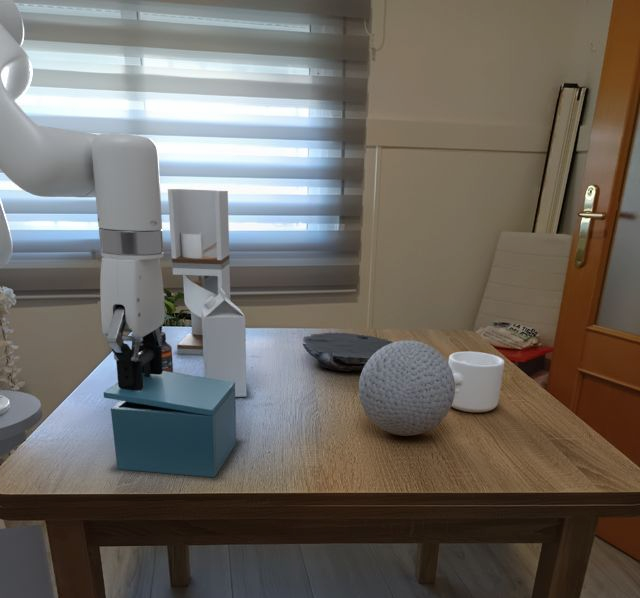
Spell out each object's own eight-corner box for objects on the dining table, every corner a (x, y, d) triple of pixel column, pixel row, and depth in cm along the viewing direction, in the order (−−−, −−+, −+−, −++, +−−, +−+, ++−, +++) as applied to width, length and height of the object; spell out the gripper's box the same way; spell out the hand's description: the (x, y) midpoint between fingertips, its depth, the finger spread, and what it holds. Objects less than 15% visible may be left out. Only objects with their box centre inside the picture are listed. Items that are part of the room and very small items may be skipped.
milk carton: (241, 385, 112) (239, 286, 105) (246, 397, 106) (245, 293, 99) (204, 387, 111) (200, 287, 103) (207, 399, 104) (203, 294, 97)
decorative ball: (360, 411, 101) (366, 327, 95) (446, 419, 99) (457, 334, 93) (351, 446, 88) (357, 350, 82) (451, 456, 85) (464, 358, 80)
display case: (188, 341, 142) (180, 189, 129) (231, 343, 142) (227, 190, 129) (177, 353, 132) (167, 189, 118) (223, 355, 132) (219, 191, 119)
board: (354, 347, 143) (356, 327, 141) (419, 369, 127) (422, 346, 125) (281, 359, 130) (281, 337, 128) (343, 386, 114) (344, 361, 112)
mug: (425, 395, 111) (430, 349, 107) (472, 391, 114) (478, 347, 110) (457, 417, 100) (464, 367, 97) (507, 413, 103) (516, 364, 100)
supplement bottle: (155, 400, 103) (150, 338, 99) (134, 393, 106) (128, 332, 102) (181, 392, 107) (177, 333, 103) (160, 385, 111) (156, 327, 106)
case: (117, 469, 78) (110, 408, 74) (150, 435, 88) (145, 381, 85) (214, 477, 77) (212, 416, 73) (236, 442, 87) (235, 387, 84)
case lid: (103, 397, 74) (102, 362, 72) (139, 371, 85) (140, 340, 83) (212, 416, 73) (214, 380, 71) (234, 387, 84) (237, 356, 82)
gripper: (132, 237, 80) (140, 361, 87) (67, 249, 64) (84, 399, 71) (184, 240, 79) (188, 365, 86) (131, 253, 64) (142, 405, 71)
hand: (141, 379), depth 79 cm, fingers closed on case lid, 6 cm apart
